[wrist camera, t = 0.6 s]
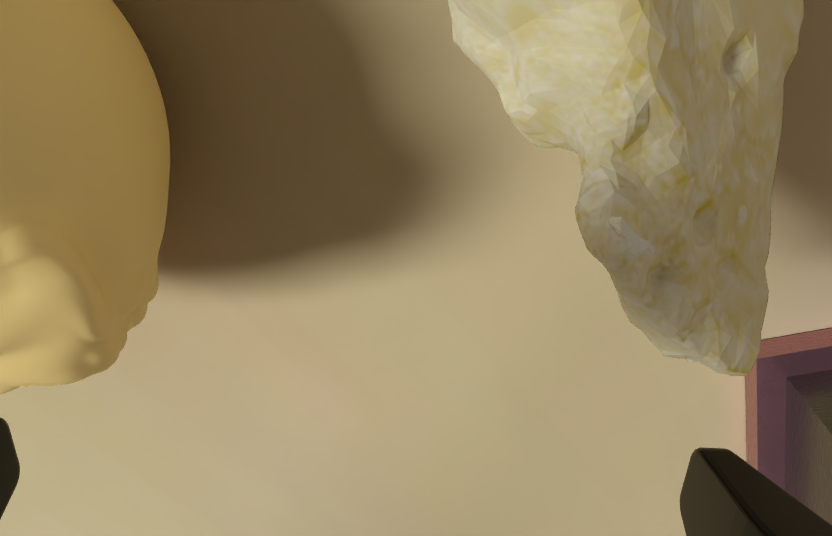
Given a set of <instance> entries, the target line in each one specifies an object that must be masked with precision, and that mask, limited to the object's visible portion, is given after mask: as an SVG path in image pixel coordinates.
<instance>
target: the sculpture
mask: <svg viewBox="0 0 832 536" xmlns="http://www.w3.org/2000/svg"><path fill="white" fill-rule="evenodd" d="M169 175H170V139H169V129H168V122H167V116H166V111H165V106H164V102H163V98H162V95H161V91H160V88H159V85H158V82H157V79H156V76H155V74H154V71H153V69H152V66H151V64H150V62H149V59H148V57H147V55H146V53H145V51H144V49H143V47H142V45H141V43H140V41H139V40H138V38H137V36H136V34H135V33H134V31H133V29H132V28H131V26H130V25H129V23H128V21H127V20H126V18H125V17H124V16H123V14H122V13H121V11H120V10H119V9H118V7H117V6H116V5H115V3H114V2H113V1H112V0H0V394H2V393H6V392H9V391H12V390H14V389H16V388H18V387H20V386H52V385H63V384H69V383H73V382H77V381H79V380H82V379H84V378H87V377H89V376H91V375H93V374H96V373H99V372H102V371H104V370H106V369H108V368H109V367H110V366H111V365H112V364H113V363H114V362H115V361H116V360H117V358H118V356H119V353H120V351H121V350H122V349H123V347H124V345H125V343H126V339H127V332H128V331H129V330H130V329H131V328H133V327H135V326H136V325H138V324H139V323H140V322H141V321H142V320H143V319H144V317H145V314H146V311H147V305H148V303H149V302H150V301H151V300H152V299H153V298H154V296H155V295H156V293H157V290H158V282H159V279H158V268H157V262H158V253H159V249H160V246H161V242H162V238H163V234H164V229H165V223H166V215H167V206H168V192H169Z"/></svg>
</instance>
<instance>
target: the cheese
mask: <svg viewBox="0 0 832 536" xmlns="http://www.w3.org/2000/svg"><path fill="white" fill-rule="evenodd" d="M448 4H449V9H450V14H451V18H452V31H453V41H454V42H455V43H456V44H457V45H458V46H459V47H460V48H461V50H462V52H463V53H464V54H465V55H466V56H467V57H468V58H469V59H470V60H471V61H472V62H473V63H475V64H476V65H477V66H478V67H479V68H480V69H481V70H482V71H483V73H484V74H485V75H486V76H487V77H488V79H489V80H490V81H491V82H492V84H493V85H494V86H495V87H496V89H497V91H498V93H499V95H500V97H501V100H502V103H503V107H504V109H505V111H506V112H507V114H508V116H509V118H510V120H511V121H512V123H513V124H514V125H515V126H516V127H517V129H518V130H519V131H520V132H521V133H522V134H523V135H524V136H525V137H526V138H527V139H528V141H530V142H532V143H533V144H535V145H537V146H540V147H544V148H559V147H560V148H563V149H567V150H570V151H574V152H576V153H577V154H578V155H579V157H580V164H581V172H582V182H581V188H580V193H579V198H578V201H577V204H576V207H575V214H576V220H577V223H578V226H579V229H580V232H581V234H582V237H583V240H584V242H585V245H586V247H587V249H588V251H589V252H590V253H591V254H592V255H593V256H594V257H595V258H597V259H598V260H599V261H600V262H601V263H602V264H603V265H604V266H605V268H606V269H607V271H608V272H609V274H610V276H611V278H612V280H613V283H614V285H615V288H616V290H617V292H618V295H619V298H620V302H621V305H622V307H623V309H624V311H625V313H626V315H627V317H628V319H629V321H630V323H632V324H633V325H635V326H636V327H638V328H639V329H641V330H642V331H643V332H644V334H645V335H646V336H647V337H648V338H649V340H650V341H651V342H652V343H653V344H654V345H655V346H656V347H657V348H658V349H659V351H660V352H661V353H662V354H663V356H664V357H672V358H681V359H686V360H687V361H690V362H692V363H694V362H699V363H701V364H703V365H705V366H707V367H709V368H710V369H712V370H714V371H716V372H718V373H723V374H727V375H730V376H744V375H747V374H749V372H750V371H751V370H752V369H753V366H754V364H755V361H756V359H757V356H758V353H759V349H760V341H761V330H762V326H763V322H764V317H765V312H766V307H767V302H768V293H769V290H768V285H767V280H766V273H765V264H766V261H767V257H768V254H769V244H770V230H771V196H772V189H773V182H774V176H775V170H776V164H777V156H778V150H779V144H780V138H781V129H782V118H783V86H784V79H785V76H786V74H787V71H788V69H789V67H790V65H791V63H792V62H793V60H794V58H795V56H796V54H797V52H798V44H799V34H800V28H801V25H802V21H803V18H804V0H448Z"/></svg>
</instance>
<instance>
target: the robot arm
mask: <svg viewBox="0 0 832 536" xmlns="http://www.w3.org/2000/svg"><path fill="white" fill-rule="evenodd" d="M19 474H20V465H19V461H18V457H17V454H16V450H15V447H14V443H13V440H12V436H11V433H10V429H9V426H8V423H7V422H6V421H5V420H4V419H3V418H0V519H1V517H2V515H3V513H4V511H5V508H6V506H7V504H8V502H9V500H10V498H11V496H12V494H13V492H14V490H15V487H16V485H17V483H18V479H19ZM680 511H681V516H682V520H683V524H684V528H685V532H686V536H832V525H831V524H830V523H828V522H827V521H826V520H824V519H823V518H821V517H820V516H819V515H817V514H816V513H815V512H813V511H812V510H811V509H809V508H808V507H807V506H805V505H804V504H802V503H801V502H800V501H798V500H797V499H796V498H794V497H793V496H792V495H790V494H789V493H788V492H786V491H785V490H783V489H782V488H781V487H779V486H778V485H777V484H775V483H774V482H773V481H771V480H770V479H768V478H767V477H766V476H764V475H763V474H762V473H760V472H759V471H758V470H756V469H755V468H754V467H752V466H751V465H749V464H748V463H747V462H745V461H744V460H743V459H741V458H740V457H739V456H737V455H736V454H735V453H733V452H732V451H730V450H728V449H723V448H698V449H696V450H694V452H693V453H692V456H691V458H690V462H689V465H688V469H687V473H686V476H685V480H684V483H683V487H682V491H681V495H680Z"/></svg>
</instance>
